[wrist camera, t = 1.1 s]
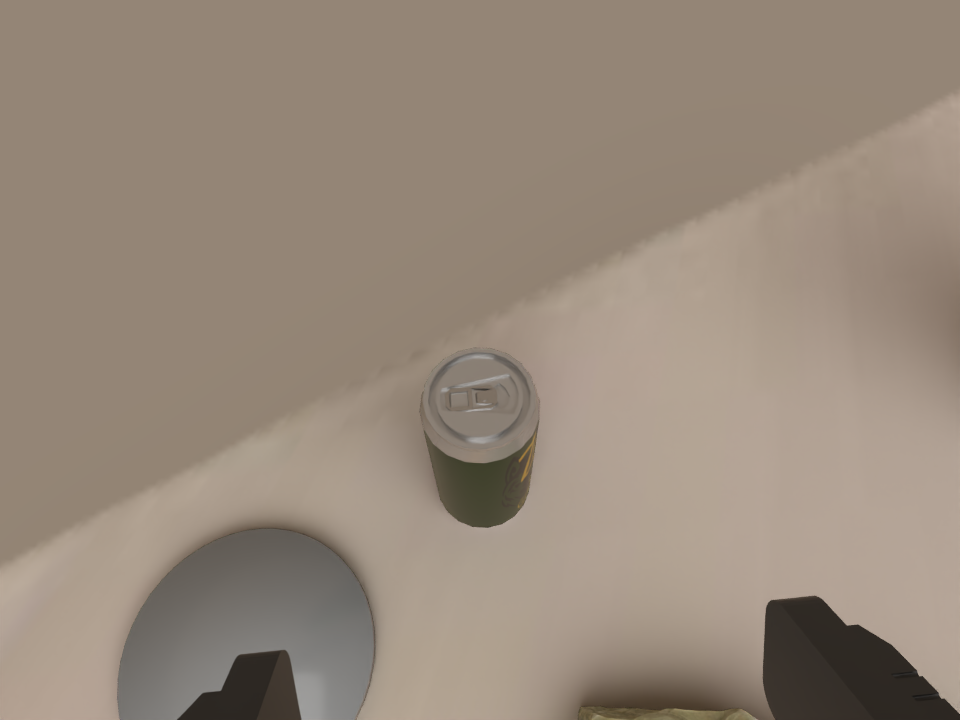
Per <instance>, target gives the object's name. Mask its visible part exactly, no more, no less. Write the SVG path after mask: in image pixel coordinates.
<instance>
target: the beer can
mask: <svg viewBox="0 0 960 720" xmlns="http://www.w3.org/2000/svg"><path fill="white" fill-rule="evenodd" d="M539 412H540V400H539V397H538V394H537V391H536V388H535V385H534V384H533V381H532V378H531V376H530V374H529V373H528V372H527V370H526V369H525V368H524V366H523V365H522V364H521V363H520V362H519V361H517V360H516V359H514V358H513V357H512V356H510V355H509V354H507V353H504V352H501V351H498V350H495V349H492V348H471V349H466V350H462V351H458V352H456V353H454V354H452V355H450V356H448V357H447V358H445V359H443V360H442V361H441V362H440V363H439V364H438V365H437V366H436V367H435V368H434V369H433V370H432V372H431V374H430V376H429V378H428V379H427V381H426V383H425V386H424V391H423V393H422V397H421V404H420V416H421V420H422V425H423V429H424V433H425V438H426V442H427V446H428V450H429V454H430V458H431V462H432V467H433V471H434V475H435V479H436V483H437V487H438V491H439V496H440V500H441V501H442V503H443V505H444V506H445V508H446V510H447V511H448V512H449V513H450V514H451V515H452V516H453V517H455V518H456V519H457V520H458V521H460V522H462V523H465V524H467V525H470V526H472V527H485V528H488V527H492V526H496V525H500V524H503V523H504V522H506V521H508V520H509V519H511V518H512V517H514V516H515V515H516V514H517V512H518V511H519V510H520V509H521V508H522V506H523V505H524V503H525V500H526V497H527V495H528V492H529V486H530V479H531V472H532V465H533V458H534V451H535V445H536V438H537V431H538V424H539Z"/></svg>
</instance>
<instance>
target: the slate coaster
mask: <svg viewBox="0 0 960 720" xmlns="http://www.w3.org/2000/svg"><path fill="white" fill-rule="evenodd" d="M277 650H286V651H287V652H288V654H289V657H290V661H291V666H292V671H293V677H294V682H295V687H296V693H297V698H298V704H299V709H300V714H301V720H356V719H357V717H358V714H359V712H360V710H361V708H362V706H363V703H364V701H365V698H366V695H367V692H368V689H369V685H370V681H371V676H372V672H373V667H374V656H375V631H374V625H373V618H372V613H371V610H370V606H369V603H368V600H367V597H366V595H365V593H364V591H363V588H362V586H361V584H360V583H359V581H358V580H357V578H356V576H355V575H354V573H353V572H352V571H351V569H350V568H349V567H348V566H347V565H346V564H345V562H344V561H343V560H342V559H341V558H340V557H339V556H338V555H336V554H335V553H334V552H333V551H332V550H331V549H330V548H328V547H327V546H325V545H323V544H322V543H320V542H319V541H317V540H315V539H313V538H310V537H308V536H306V535H303V534H300V533H296V532H293V531H288V530H281V529H254V530H246V531H242V532H238V533H234V534H230V535H228V536H225V537H223V538H220V539H217V540H215V541H213V542H211V543H209V544H207V545H205V546H203V547H201V548H200V549H198V550H197V551H195V552H194V553H192V554H191V555H189V556H188V557H186V558H185V559H184V560H183V561H182V562H180V563H179V564H178V565H177V566H176V567H174V568H173V569H172V570H171V571H170V572H169V573H168V574H167V575H166V576H165V577H164V578H163V579H162V580H161V582H160V583H159V584H158V585H157V587H156V588H155V589H154V590H153V592H152V593H151V594H150V596H149V597H148V599H147V600H146V602H145V603H144V605H143V606H142V608H141V610H140V611H139V613H138V615H137V617H136V619H135V621H134V623H133V625H132V627H131V630H130V633H129V635H128V638H127V640H126V643H125V646H124V650H123V654H122V658H121V662H120V668H119V675H118V692H117V700H118V710H119V718H120V720H177V719H178V718H179V717H180V716H181V715H182V714H183V713H184V712H185V711H186V710H187V709H188V708H189V707H190V706H191V705H192V704H193V703H194V702H195V700H196V699H197V698H198V697H199V696H200V695H201V694H202V693H205V692H214V691H221V689H222V687H223V685H224V683H225V680H226V678H227V676H228V674H229V671H230V669H231V667H232V664H233V662H234V660H235V659H236V657H237V656H238V655H240V654H248V653H258V652H267V651H277Z"/></svg>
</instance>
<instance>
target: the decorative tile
mask: <svg viewBox="0 0 960 720" xmlns="http://www.w3.org/2000/svg"><path fill="white" fill-rule="evenodd" d="M578 720H758V719H756V718H755V717H753V716H752V715H750V714H749V713H747V712H746V711H744V710H742V709H727V710H724V711H706V710H696V711H694V710H682V709H676V708H666V709H663V710H646V709H636V708H630V707H628V708H606V707H602V706H594V707H580V710H579V715H578Z"/></svg>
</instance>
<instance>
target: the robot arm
mask: <svg viewBox="0 0 960 720" xmlns="http://www.w3.org/2000/svg"><path fill="white" fill-rule="evenodd" d="M763 684H764V690H765V695H766V698H767V701H768V704H769V707H770V709H771V712H772V714H773V716H774V718H775V720H960V714H959V713H958V712H957V711H956V710H955V709H954V708H953V707H952V706H951V705H950V704H949V703H948V702H947V701H946V700H945V699H941V698H940V697H939V693H938V692H937V691H936V690H935V689H934V688H933V687H932V686H931V685H930V684H929V683H928V681H927V680H926V679H925V678H924V677H923V676H920V677H919V675H918V673H917V670H916V669H915V668H914V667H913V666H912V665H911V664H910V663H909V662H908V661H907V660H906V659H905V658H904V657H903V656H902V655H901V654H900V653H899V652H898V651H897V650H896V649H895V648H894V647H893V646H892V645H891V644H889V643H887V642H886V641H884V640H882V639H881V638H879V637H877V636H876V635H874V634H873V633H871V632H869V631H868V630H866V629H864V628H863V627H861V626H859V625H850V626H847V625H846V624H845V623H844V622H843V621H842V620H841V619H840V618H839V617H838V616H837V615H836V614H835V612H834V611H833V610H832V609H831V608H830V607H829V606H828V605H827V604H826V603H825V602H824V601H823V600H822V599H821V598H819V597H817V596H808V597H798V598H788V599H779V600H771V601H770V602H769V603H768V605H767V607H766V616H765V638H764V660H763ZM177 720H301V714H300V709H299V704H298V698H297V693H296V687H295V682H294V677H293V671H292V666H291V661H290V657H289V654H288V652H287V651H286V650H277V651H267V652H258V653H248V654H240V655H238V656H237V657H236V659H235V660H234V662H233V664H232V667H231V669H230V671H229V674H228V676H227V678H226V680H225V683H224V685H223V687H222V689H221V691H214V692H205V693H202V694H201V695H200V696H199V697H198V698H197V699H196V700H195V702H194V703H193V704H192V705H191V706H190V707H189V708H188V709H187V710H186V711H185V712H184V713H183V714H182V715H181V716H180V717H179V718H178V719H177Z"/></svg>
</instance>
